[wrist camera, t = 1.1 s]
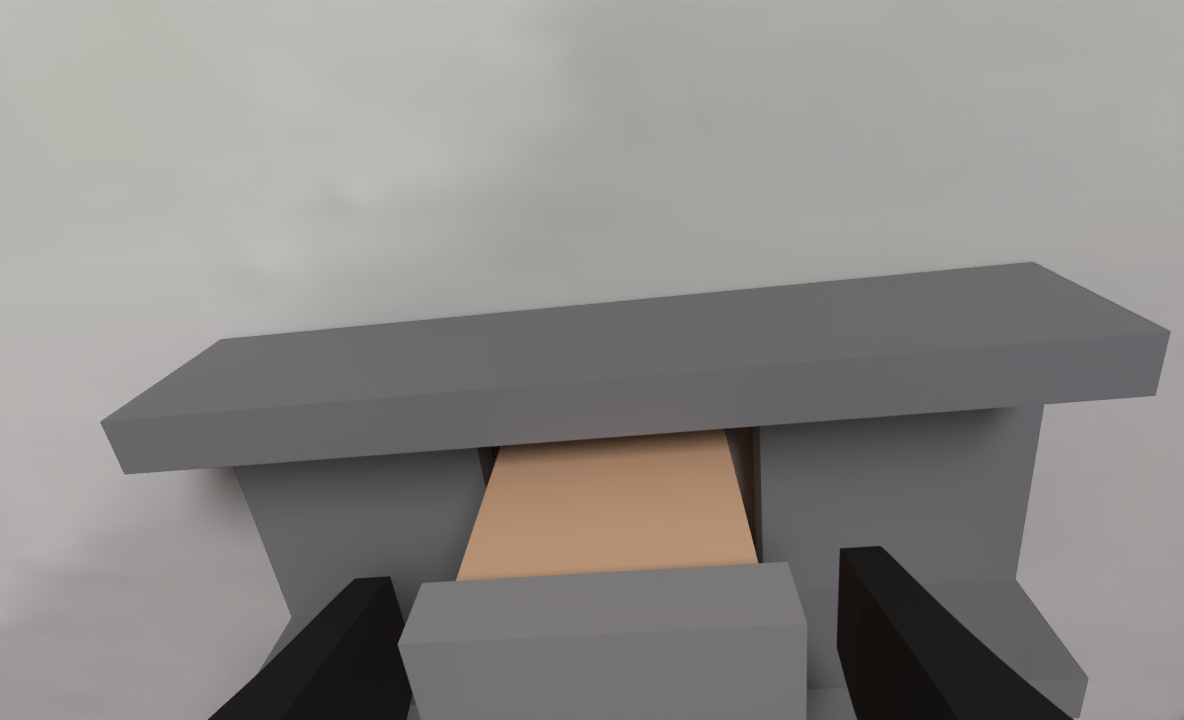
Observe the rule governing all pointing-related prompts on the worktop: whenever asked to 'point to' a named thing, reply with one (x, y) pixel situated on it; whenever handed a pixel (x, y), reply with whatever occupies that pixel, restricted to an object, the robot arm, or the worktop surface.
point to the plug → (611, 594)
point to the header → (675, 404)
